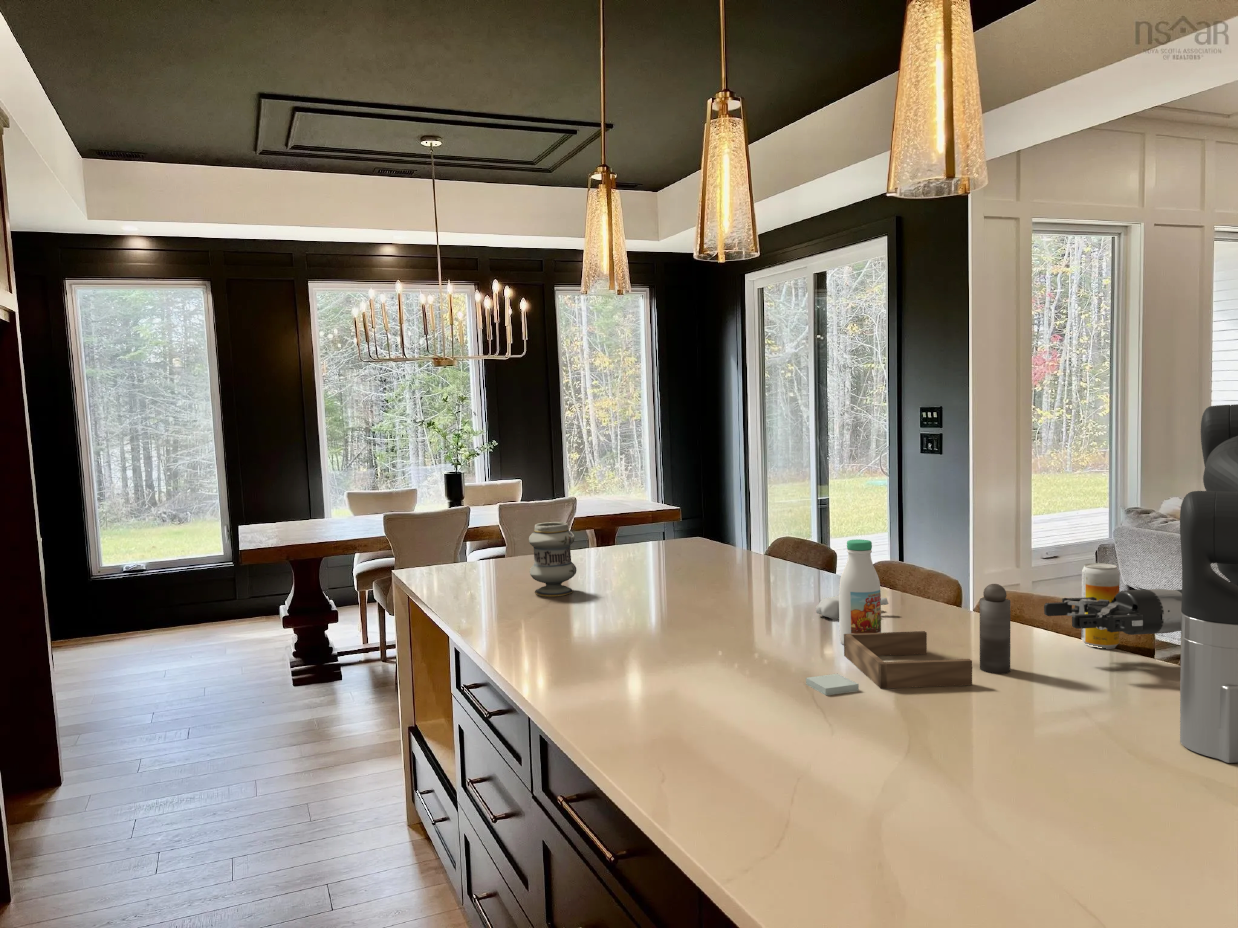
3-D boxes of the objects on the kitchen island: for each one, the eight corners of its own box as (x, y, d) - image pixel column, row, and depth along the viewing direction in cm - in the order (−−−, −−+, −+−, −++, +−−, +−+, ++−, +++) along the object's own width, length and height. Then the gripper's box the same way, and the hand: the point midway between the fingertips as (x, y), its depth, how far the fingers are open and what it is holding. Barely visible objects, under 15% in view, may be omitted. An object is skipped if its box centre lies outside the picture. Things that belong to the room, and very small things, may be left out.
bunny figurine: (807, 596, 187) (865, 583, 192) (810, 618, 188) (868, 604, 192) (831, 605, 178) (891, 590, 183) (833, 628, 179) (893, 613, 183)
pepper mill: (1015, 673, 141) (1015, 586, 141) (987, 674, 141) (987, 587, 140) (1001, 664, 146) (1001, 580, 145) (974, 665, 146) (974, 581, 145)
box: (972, 684, 136) (972, 660, 136) (880, 688, 135) (880, 663, 135) (924, 652, 155) (924, 630, 155) (844, 655, 154) (843, 633, 154)
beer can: (1124, 650, 153) (1124, 568, 152) (1087, 649, 154) (1088, 568, 154) (1111, 641, 159) (1112, 562, 158) (1076, 640, 160) (1077, 562, 160)
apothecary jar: (526, 590, 221) (524, 522, 220) (570, 586, 225) (568, 519, 224) (535, 599, 210) (533, 527, 209) (582, 595, 213) (580, 524, 212)
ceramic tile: (858, 693, 135) (858, 683, 135) (825, 698, 133) (825, 688, 133) (837, 682, 140) (837, 673, 140) (806, 687, 138) (805, 677, 138)
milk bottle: (835, 646, 160) (834, 542, 159) (844, 636, 167) (843, 536, 166) (876, 650, 157) (876, 544, 156) (884, 640, 164) (883, 538, 163)
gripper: (1124, 581, 151) (1036, 585, 151) (1180, 599, 137) (1083, 603, 137) (1124, 622, 152) (1036, 626, 151) (1180, 644, 138) (1083, 648, 137)
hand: (1058, 615), depth 144 cm, fingers open, 8 cm apart
